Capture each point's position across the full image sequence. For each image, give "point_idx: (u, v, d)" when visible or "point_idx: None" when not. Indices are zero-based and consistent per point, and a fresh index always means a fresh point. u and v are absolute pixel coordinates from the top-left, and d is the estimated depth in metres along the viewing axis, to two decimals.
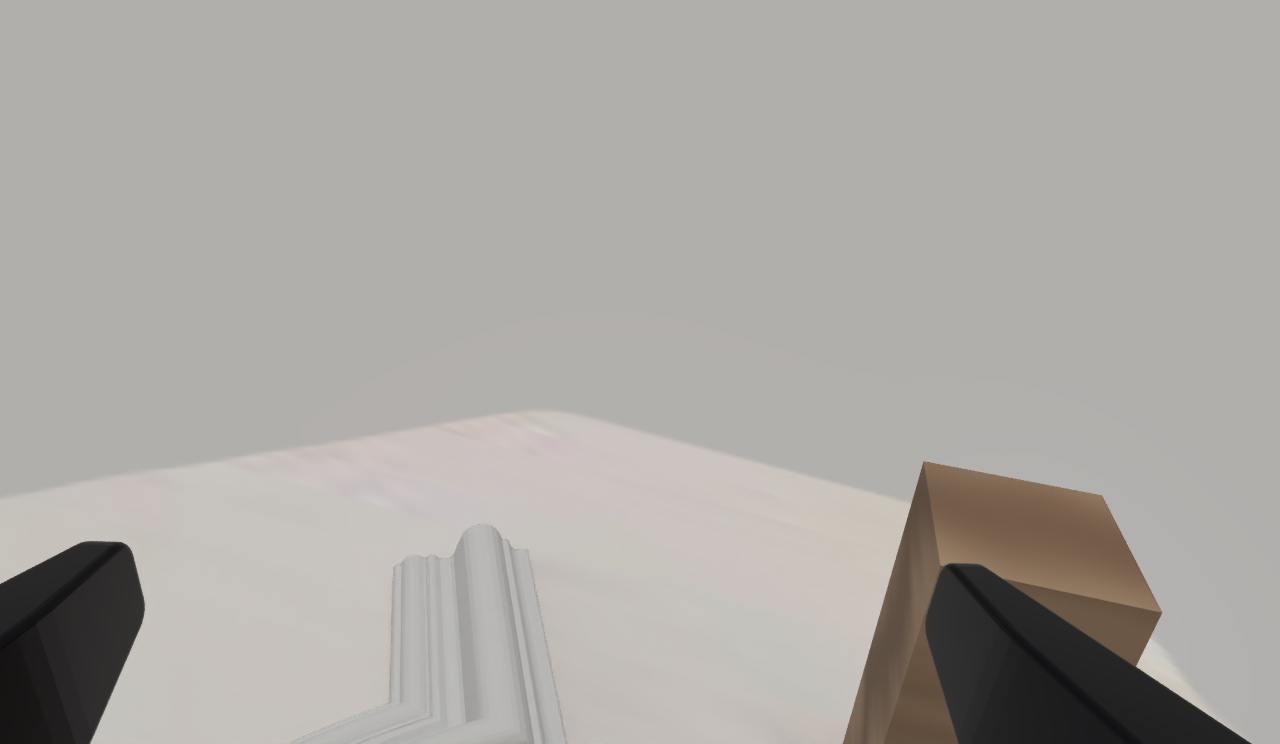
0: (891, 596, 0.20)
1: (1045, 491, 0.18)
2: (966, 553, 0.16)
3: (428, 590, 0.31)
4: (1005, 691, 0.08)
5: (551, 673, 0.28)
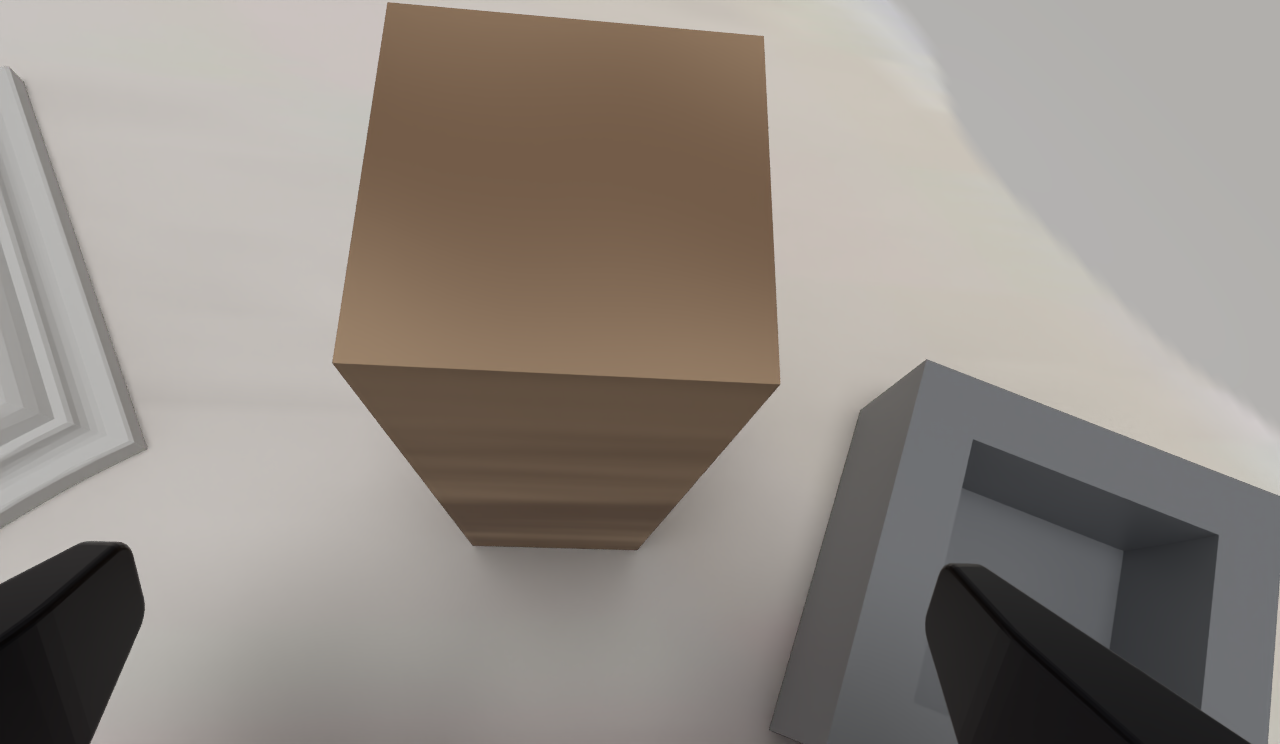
0: None
1: (646, 47, 0.08)
2: (405, 306, 0.07)
3: None
4: (1005, 691, 0.08)
5: (75, 276, 0.20)
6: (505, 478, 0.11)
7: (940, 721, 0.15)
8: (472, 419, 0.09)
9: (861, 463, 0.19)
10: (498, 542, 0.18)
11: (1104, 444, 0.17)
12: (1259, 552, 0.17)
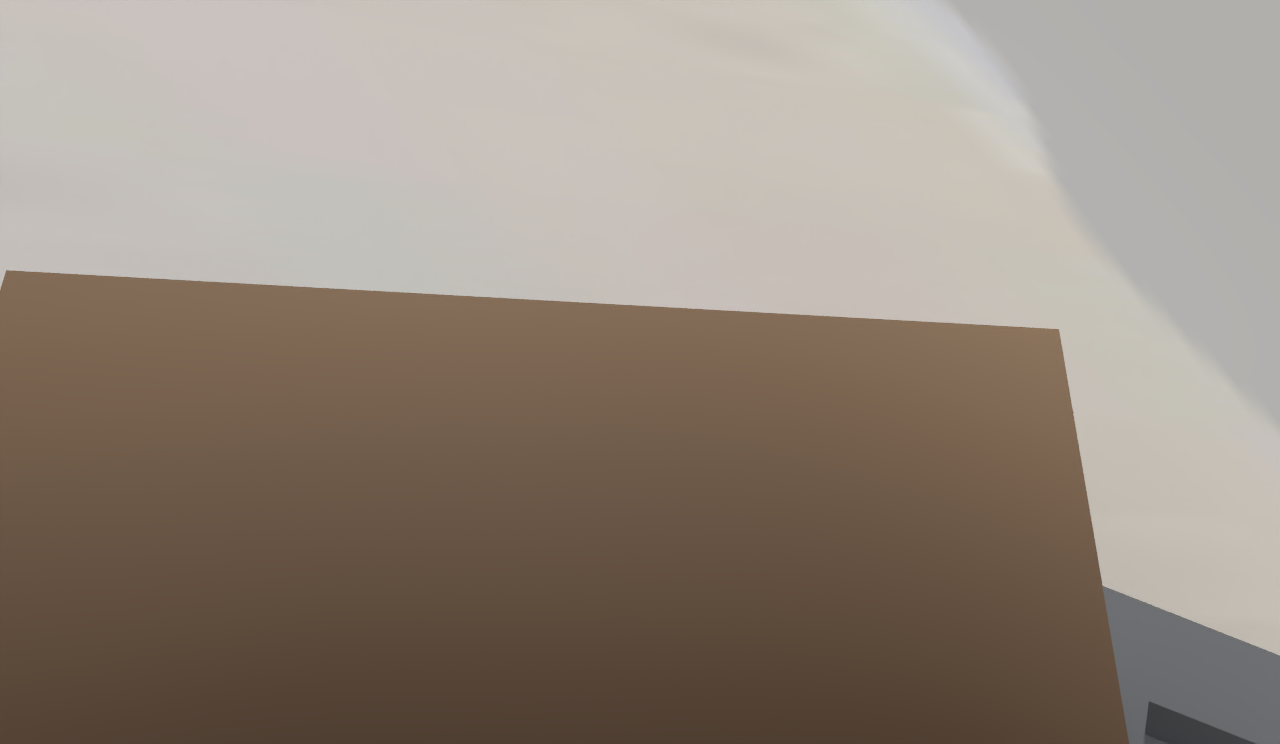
0: None
1: (753, 379, 0.03)
2: None
3: None
4: None
5: None
6: None
7: None
8: None
9: None
10: None
11: None
12: None
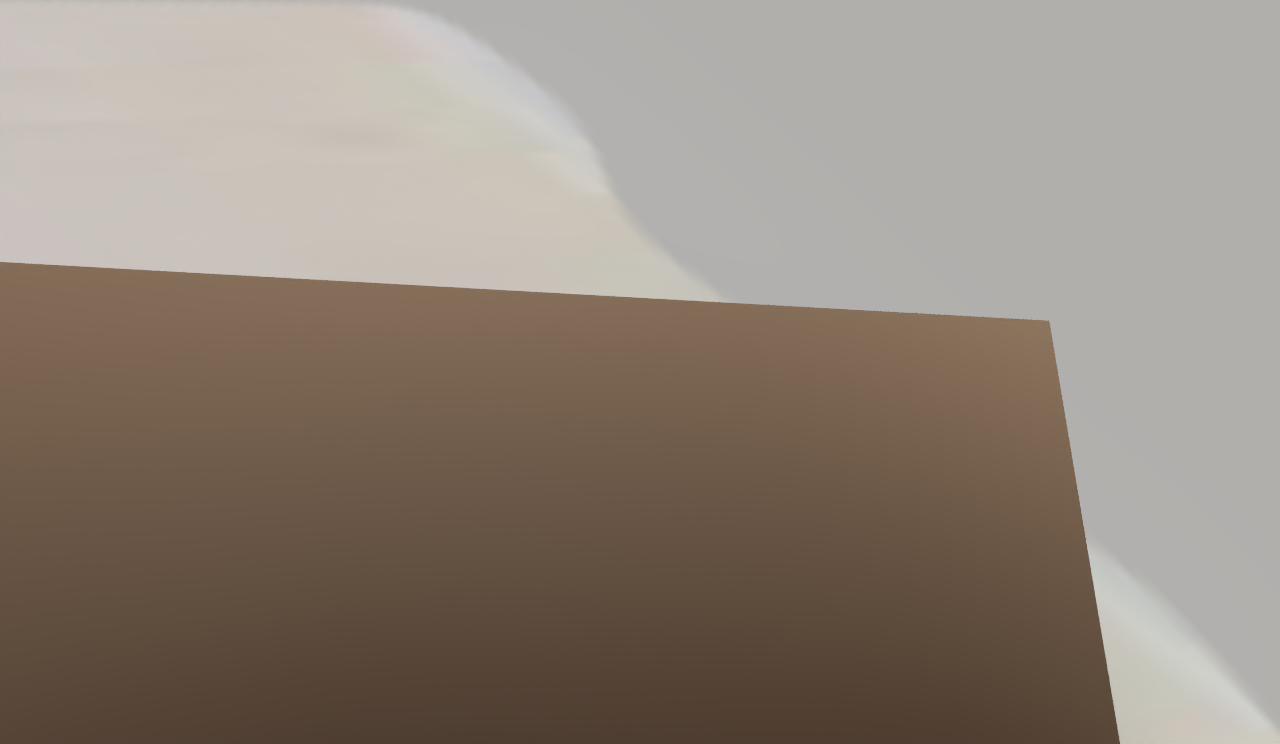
0: None
1: (745, 372, 0.03)
2: None
3: None
4: None
5: None
6: None
7: None
8: None
9: None
10: None
11: None
12: None
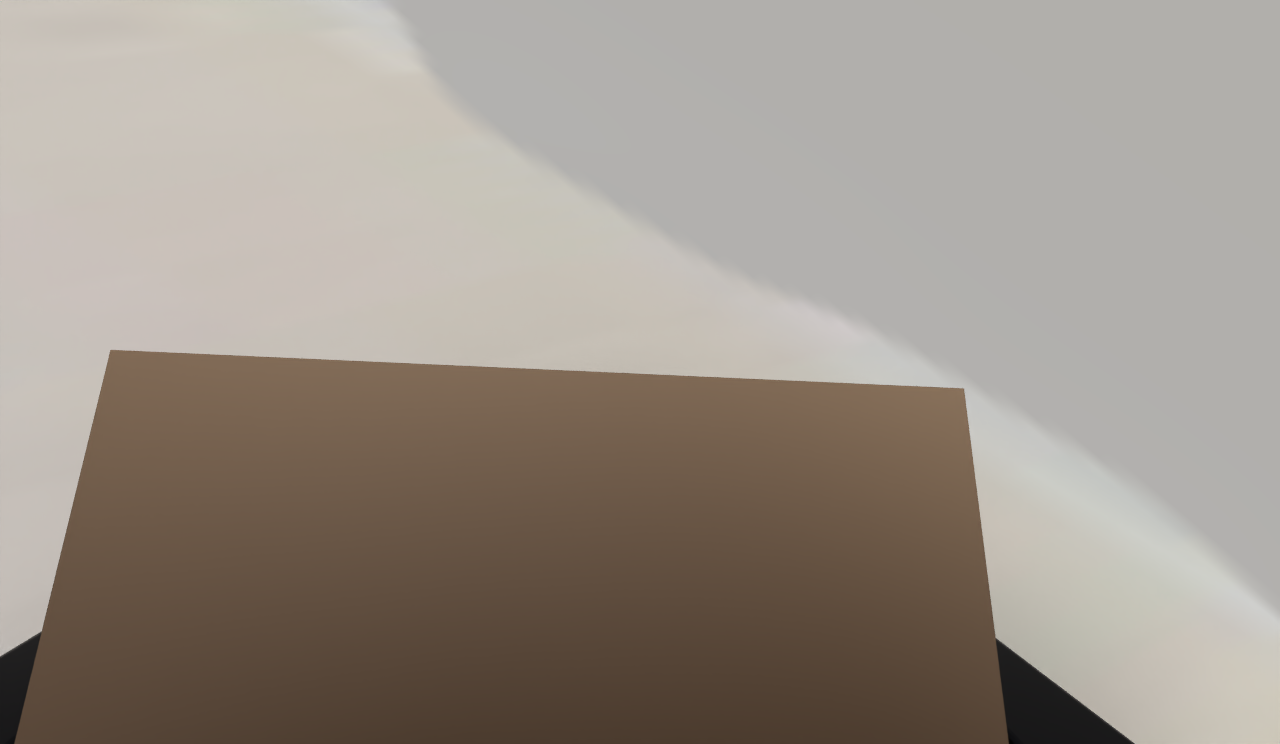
0: None
1: (710, 436, 0.04)
2: None
3: None
4: None
5: None
6: None
7: None
8: None
9: None
10: None
11: None
12: None
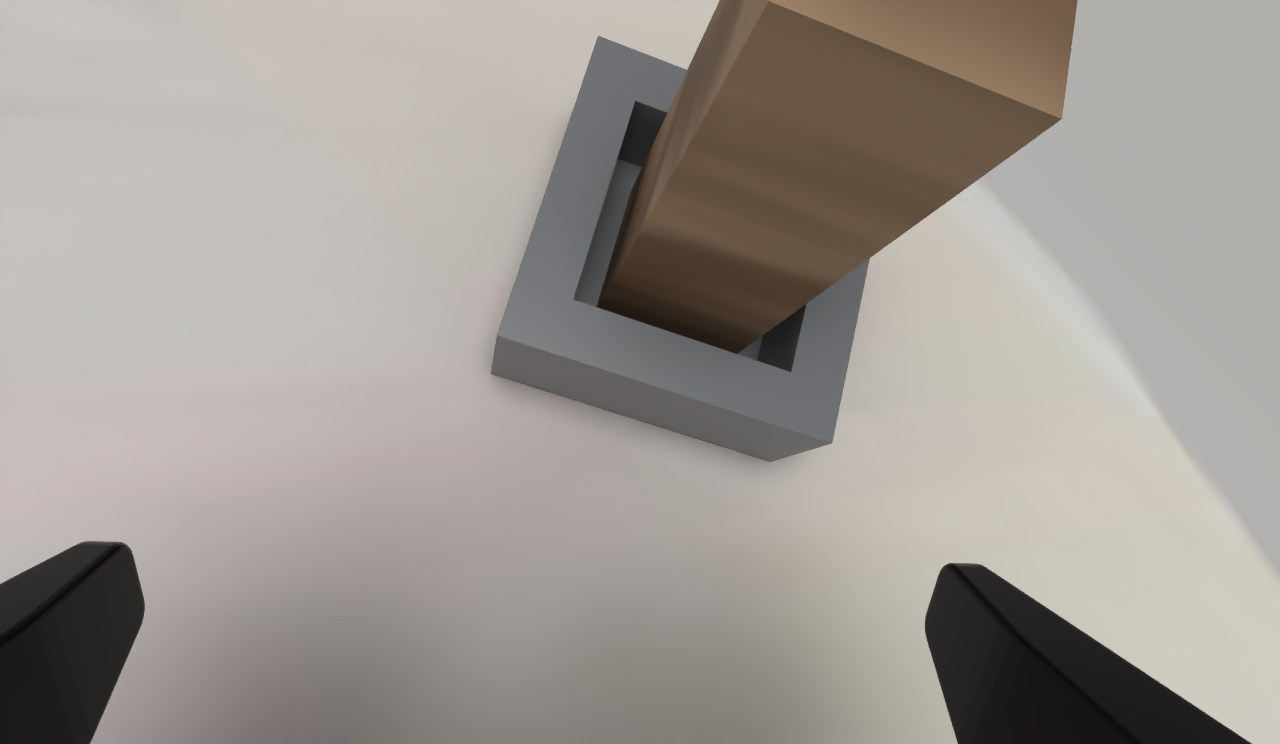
0: None
1: None
2: None
3: None
4: (1005, 691, 0.08)
5: None
6: (733, 205, 0.14)
7: (595, 312, 0.19)
8: (794, 107, 0.11)
9: None
10: (621, 315, 0.21)
11: None
12: None
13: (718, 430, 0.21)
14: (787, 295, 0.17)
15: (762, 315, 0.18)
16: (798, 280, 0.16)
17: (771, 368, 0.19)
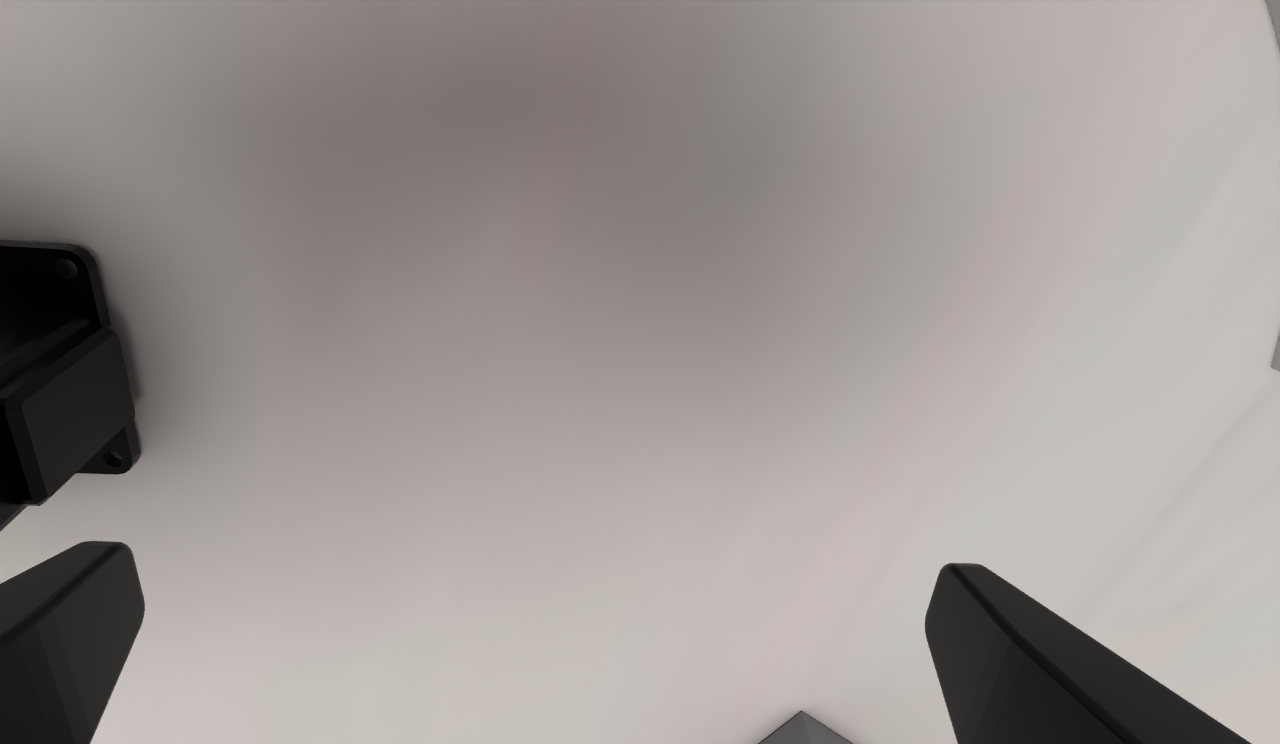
0: None
1: None
2: None
3: None
4: (1005, 691, 0.08)
5: None
6: None
7: None
8: None
9: None
10: None
11: None
12: None
13: None
14: None
15: None
16: None
17: None
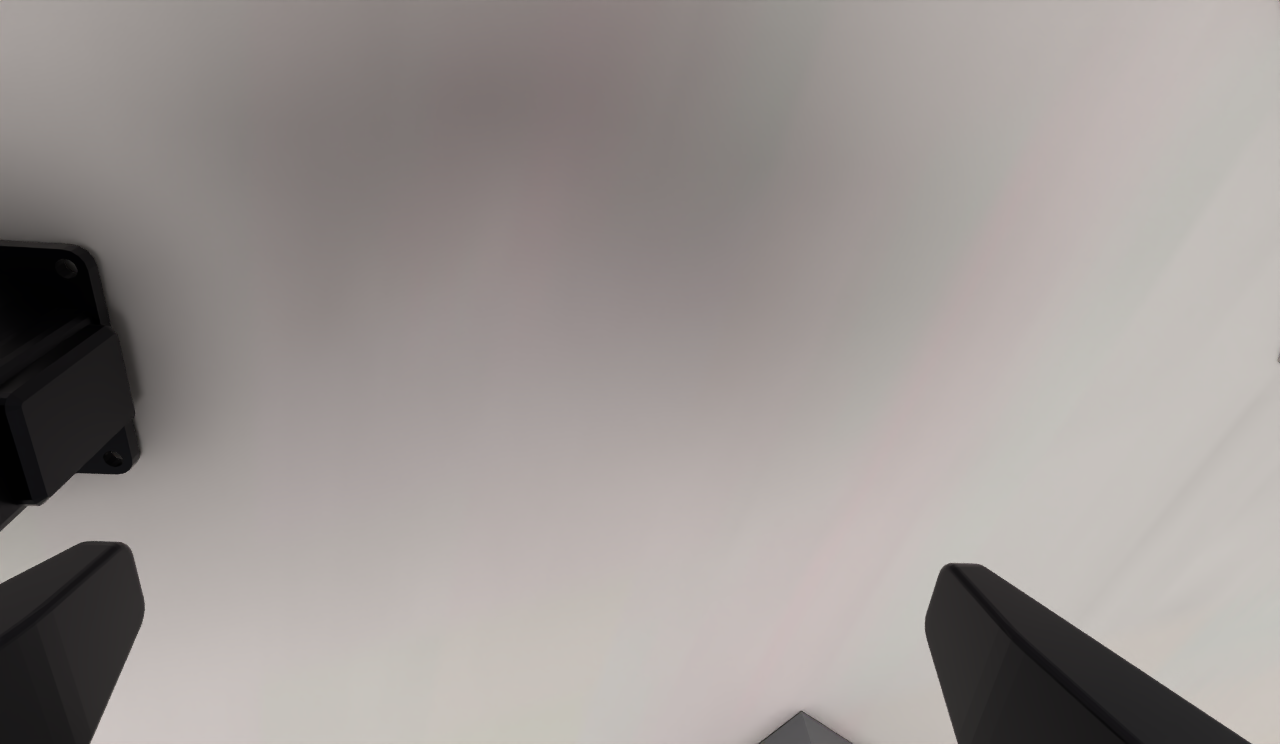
0: None
1: None
2: None
3: None
4: (1005, 691, 0.08)
5: None
6: None
7: None
8: None
9: None
10: None
11: None
12: None
13: None
14: None
15: None
16: None
17: None
